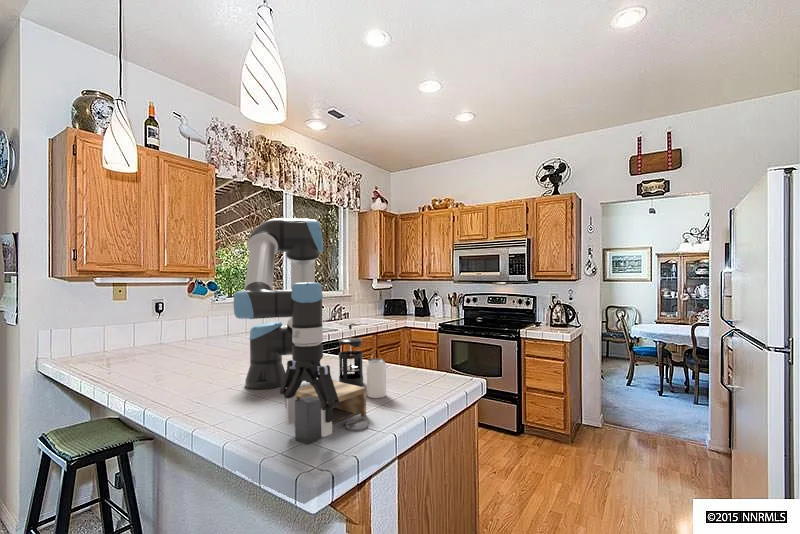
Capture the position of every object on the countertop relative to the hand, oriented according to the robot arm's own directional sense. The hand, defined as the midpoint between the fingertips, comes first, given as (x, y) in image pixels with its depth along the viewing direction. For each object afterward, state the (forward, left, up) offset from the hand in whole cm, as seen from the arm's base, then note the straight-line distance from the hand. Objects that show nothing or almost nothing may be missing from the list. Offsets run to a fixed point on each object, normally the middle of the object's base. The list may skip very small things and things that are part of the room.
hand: (308, 428), depth 101 cm
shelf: (-9, +14, -3) cm, 17 cm away
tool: (0, +8, -3) cm, 8 cm away
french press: (-28, +42, -3) cm, 51 cm away
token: (+4, +14, -3) cm, 14 cm away
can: (-11, +38, -3) cm, 39 cm away
